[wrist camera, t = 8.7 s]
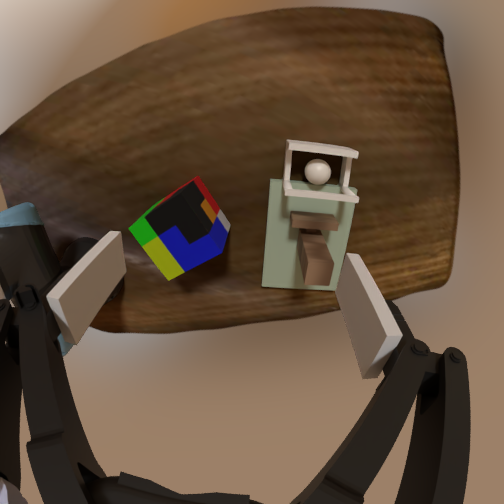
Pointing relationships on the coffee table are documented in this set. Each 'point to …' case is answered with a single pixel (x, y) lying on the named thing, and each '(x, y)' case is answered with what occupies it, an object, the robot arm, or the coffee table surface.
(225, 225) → the puzzle toy
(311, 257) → the kicker
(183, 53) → the coffee table surface
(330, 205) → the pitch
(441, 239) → the coffee table surface
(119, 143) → the coffee table surface
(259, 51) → the coffee table surface
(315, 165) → the ball
